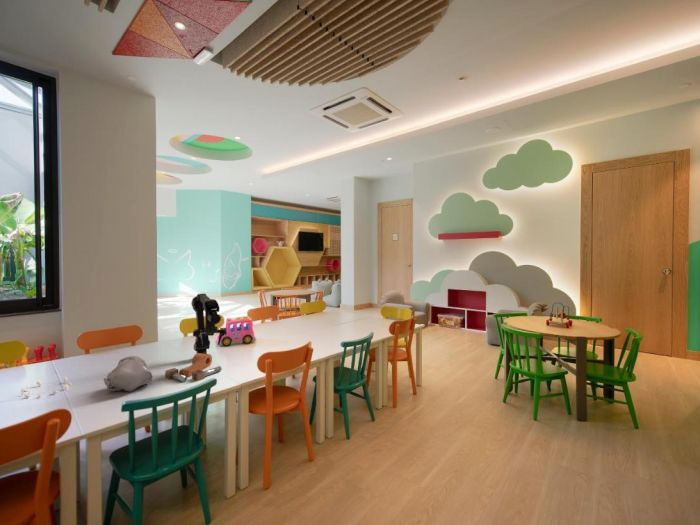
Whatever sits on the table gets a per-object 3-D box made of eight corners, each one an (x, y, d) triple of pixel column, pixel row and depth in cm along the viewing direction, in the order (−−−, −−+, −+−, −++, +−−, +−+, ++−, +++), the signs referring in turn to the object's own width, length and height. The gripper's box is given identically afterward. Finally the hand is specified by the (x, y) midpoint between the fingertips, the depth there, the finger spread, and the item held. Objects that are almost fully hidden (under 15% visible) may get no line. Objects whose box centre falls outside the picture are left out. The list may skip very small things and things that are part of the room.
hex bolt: (165, 377, 181) (165, 370, 181) (174, 374, 185) (174, 367, 185) (179, 383, 173) (179, 376, 173) (188, 380, 178) (188, 373, 178)
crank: (201, 363, 203) (200, 351, 203) (212, 365, 202) (212, 352, 201) (177, 376, 184) (177, 362, 184) (189, 377, 182) (189, 363, 182)
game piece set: (19, 390, 163) (19, 383, 163) (71, 379, 177) (71, 372, 177) (18, 404, 149) (18, 395, 149) (75, 391, 164) (74, 383, 163)
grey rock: (104, 402, 154) (106, 373, 152) (101, 383, 167) (103, 356, 165) (152, 393, 168) (155, 366, 165) (147, 376, 180) (149, 351, 178)
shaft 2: (197, 381, 177) (197, 373, 177) (192, 379, 179) (191, 372, 179) (222, 371, 190) (222, 365, 190) (217, 370, 193) (217, 363, 193)
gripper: (191, 324, 186) (191, 351, 187) (226, 322, 192) (226, 348, 193) (194, 320, 196) (194, 345, 197) (226, 318, 203) (226, 343, 204)
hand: (210, 345), depth 198 cm, fingers open, 9 cm apart
